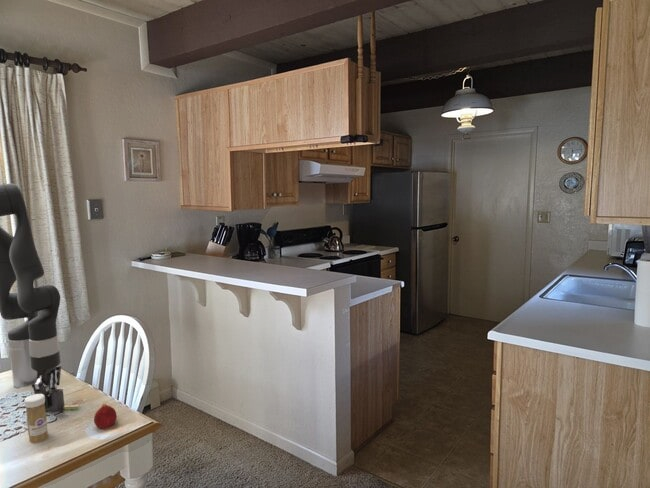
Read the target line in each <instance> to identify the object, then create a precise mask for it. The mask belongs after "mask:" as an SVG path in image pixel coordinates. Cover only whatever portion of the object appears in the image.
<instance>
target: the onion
mask: <svg viewBox="0 0 650 488" xmlns="http://www.w3.org/2000/svg"><path fill="white" fill-rule="evenodd" d="M93 418H94V419H93V422H94V425H95V427H97V428H99V429H101V430H102V429H108V428H111V427H113V426H114V425H115V422H116V421H117V418H118V415H117V412H116V409H115V408H114V407H113V406H110V405H107V404H106V403H105V402H103V403H102V405H101V407H99V409H97V411H96V412H95V414H94V417H93Z"/></svg>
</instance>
